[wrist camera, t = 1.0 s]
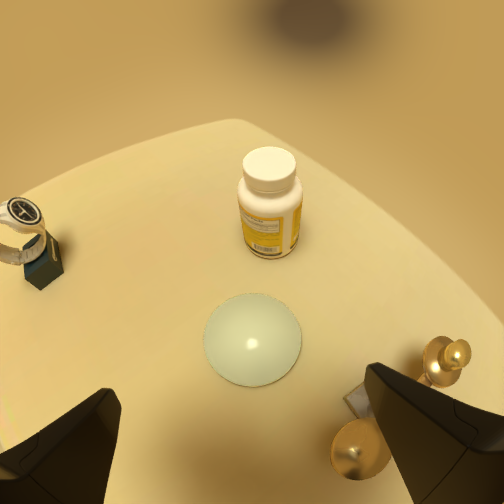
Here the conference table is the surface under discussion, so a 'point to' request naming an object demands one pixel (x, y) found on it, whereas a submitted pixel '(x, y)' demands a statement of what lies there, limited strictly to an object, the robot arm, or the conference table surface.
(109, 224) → the conference table surface
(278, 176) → the supplement bottle
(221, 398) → the conference table surface
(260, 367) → the dish
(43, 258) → the watch
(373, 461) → the balance
